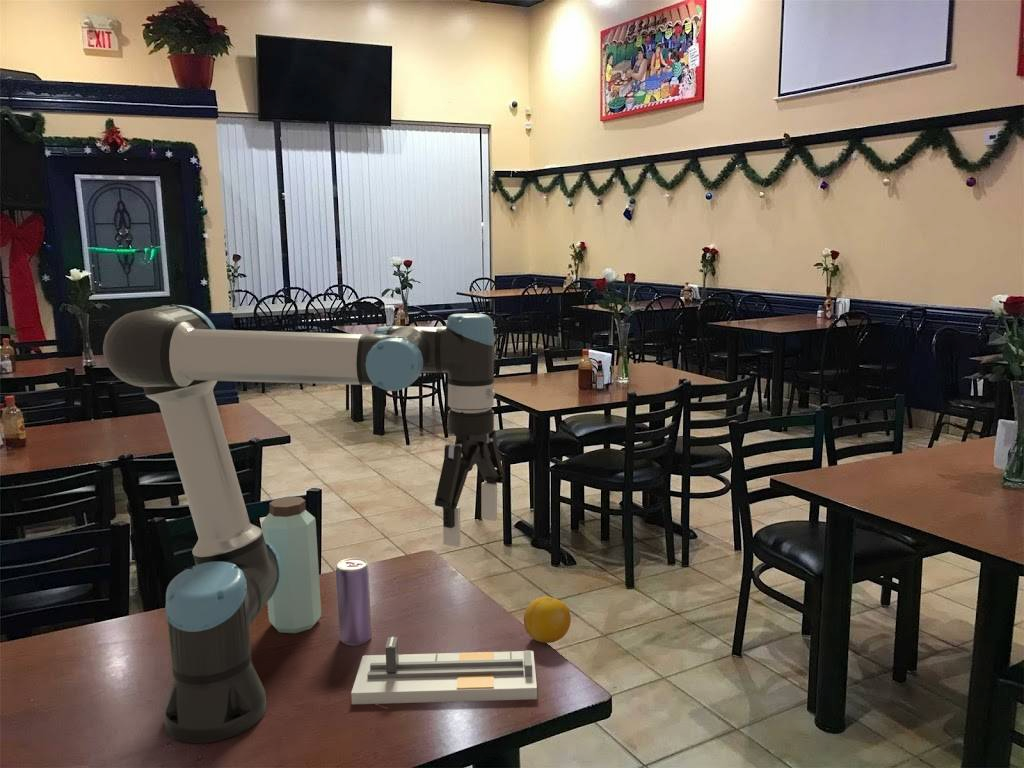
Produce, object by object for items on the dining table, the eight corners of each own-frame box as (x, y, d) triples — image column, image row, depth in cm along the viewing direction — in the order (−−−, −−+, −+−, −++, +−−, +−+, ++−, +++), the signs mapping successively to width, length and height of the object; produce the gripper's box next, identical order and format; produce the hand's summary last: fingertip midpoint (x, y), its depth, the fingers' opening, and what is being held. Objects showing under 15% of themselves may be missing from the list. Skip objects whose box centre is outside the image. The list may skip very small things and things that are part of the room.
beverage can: (365, 648, 149) (360, 571, 146) (334, 645, 150) (330, 569, 148) (376, 632, 155) (373, 558, 152) (347, 630, 156) (343, 556, 153)
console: (351, 704, 131) (350, 681, 130) (363, 666, 143) (362, 644, 142) (537, 699, 131) (536, 676, 131) (533, 661, 143) (533, 640, 142)
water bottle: (332, 619, 161) (325, 498, 156) (294, 640, 152) (285, 513, 148) (297, 608, 166) (289, 490, 161) (258, 627, 158) (248, 504, 153)
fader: (386, 677, 135) (385, 646, 134) (389, 666, 138) (388, 636, 137) (396, 677, 135) (395, 646, 134) (398, 666, 138) (397, 636, 137)
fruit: (539, 624, 157) (539, 586, 155) (577, 634, 153) (577, 594, 151) (516, 644, 149) (516, 603, 148) (556, 654, 145) (555, 613, 144)
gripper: (454, 426, 120) (455, 561, 124) (522, 397, 142) (521, 512, 146) (411, 421, 123) (413, 553, 127) (484, 393, 145) (484, 506, 149)
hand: (471, 531), depth 136 cm, fingers open, 13 cm apart
